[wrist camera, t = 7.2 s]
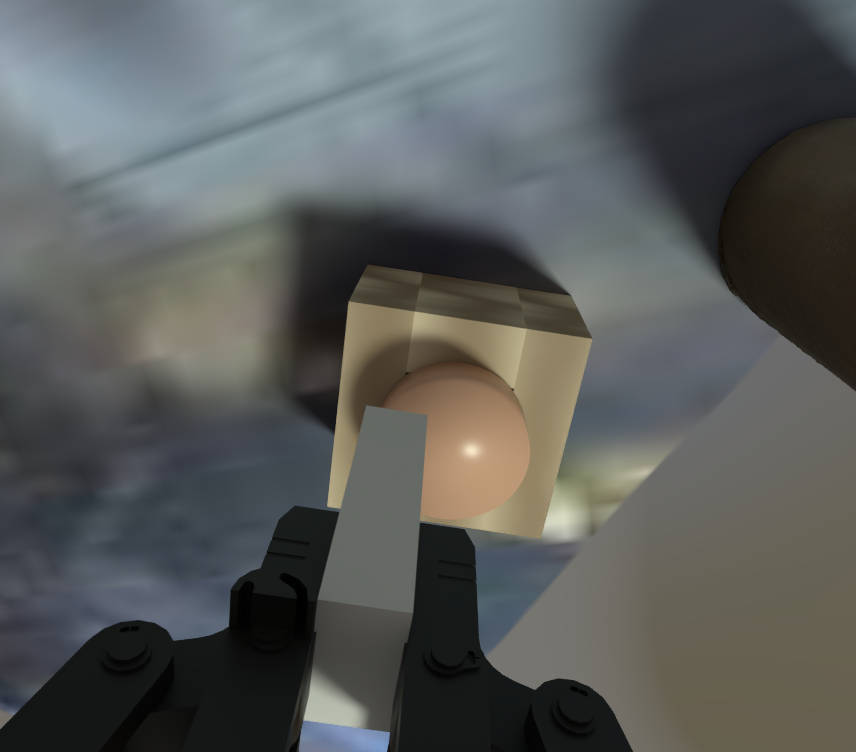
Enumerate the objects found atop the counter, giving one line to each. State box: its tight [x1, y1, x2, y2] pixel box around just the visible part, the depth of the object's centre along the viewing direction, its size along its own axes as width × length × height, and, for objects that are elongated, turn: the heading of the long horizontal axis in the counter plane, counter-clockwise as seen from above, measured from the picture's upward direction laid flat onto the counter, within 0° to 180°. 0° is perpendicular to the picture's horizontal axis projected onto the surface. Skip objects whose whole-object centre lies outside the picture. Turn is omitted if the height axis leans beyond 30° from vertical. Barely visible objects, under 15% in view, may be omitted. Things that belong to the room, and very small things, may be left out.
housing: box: [327, 264, 592, 539], centre depth 33 cm, size 10×10×6 cm
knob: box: [381, 362, 530, 520], centre depth 31 cm, size 6×6×8 cm
